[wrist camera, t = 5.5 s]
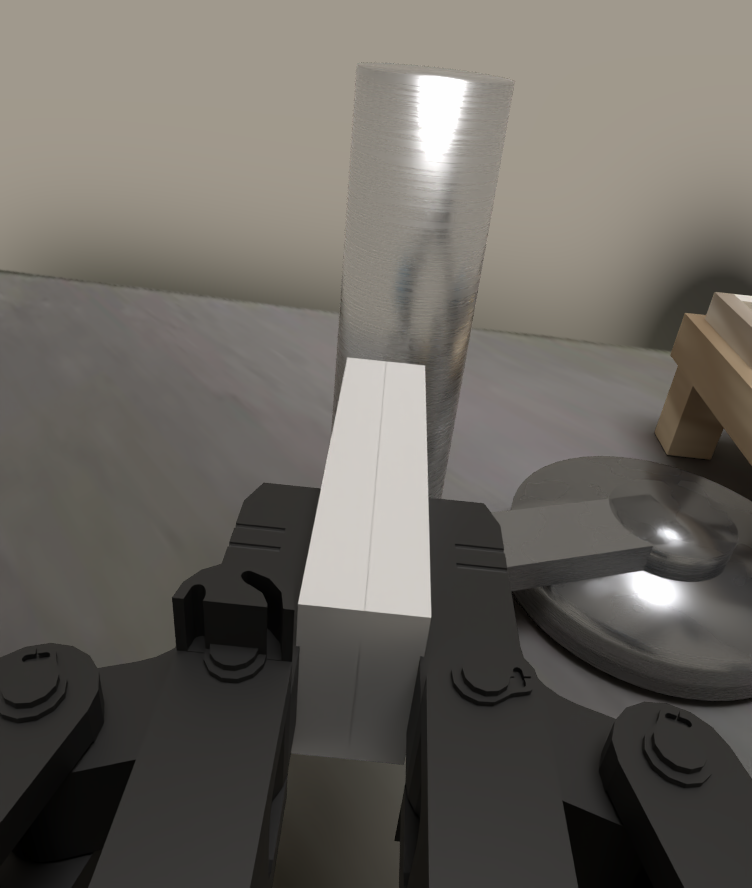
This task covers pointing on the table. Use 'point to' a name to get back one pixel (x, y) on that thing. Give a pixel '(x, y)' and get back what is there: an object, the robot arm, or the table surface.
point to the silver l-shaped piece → (562, 483)
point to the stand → (711, 381)
